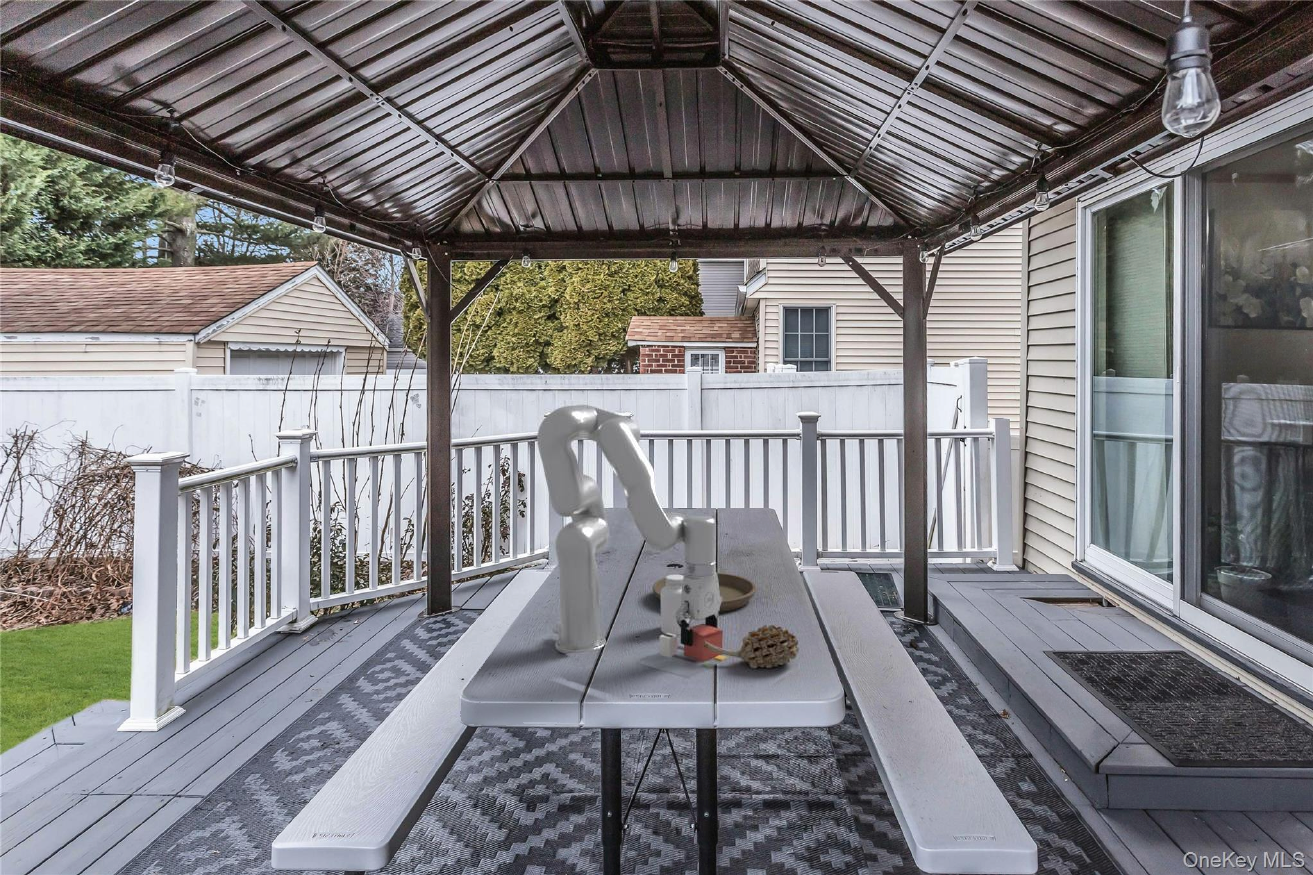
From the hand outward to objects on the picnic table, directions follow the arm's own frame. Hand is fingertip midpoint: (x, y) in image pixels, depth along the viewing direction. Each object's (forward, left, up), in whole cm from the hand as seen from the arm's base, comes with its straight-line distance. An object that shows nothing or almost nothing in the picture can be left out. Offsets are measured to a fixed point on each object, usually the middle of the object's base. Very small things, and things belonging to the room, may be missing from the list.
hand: (699, 639), depth 181 cm
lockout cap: (+1, 0, -3) cm, 4 cm away
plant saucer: (-27, +39, -5) cm, 48 cm away
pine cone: (+13, +2, -5) cm, 14 cm away
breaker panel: (-1, -4, -5) cm, 6 cm away
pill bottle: (-15, +10, -5) cm, 19 cm away
